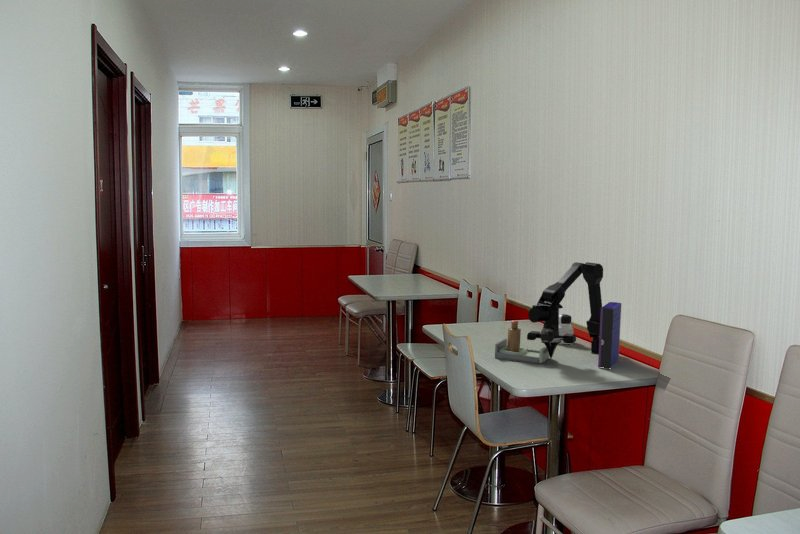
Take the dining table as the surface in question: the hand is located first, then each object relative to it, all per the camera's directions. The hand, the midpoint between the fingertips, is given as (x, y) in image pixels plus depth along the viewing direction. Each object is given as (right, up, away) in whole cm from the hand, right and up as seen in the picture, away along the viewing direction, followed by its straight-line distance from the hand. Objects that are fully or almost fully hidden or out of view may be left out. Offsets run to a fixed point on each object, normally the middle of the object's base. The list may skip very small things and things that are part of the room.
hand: (551, 358), depth 277 cm
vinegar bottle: (-14, +1, +8) cm, 16 cm away
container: (+13, +2, +36) cm, 38 cm away
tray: (-10, 0, +5) cm, 11 cm away
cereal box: (+23, -2, -2) cm, 23 cm away
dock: (-11, -1, +6) cm, 13 cm away
